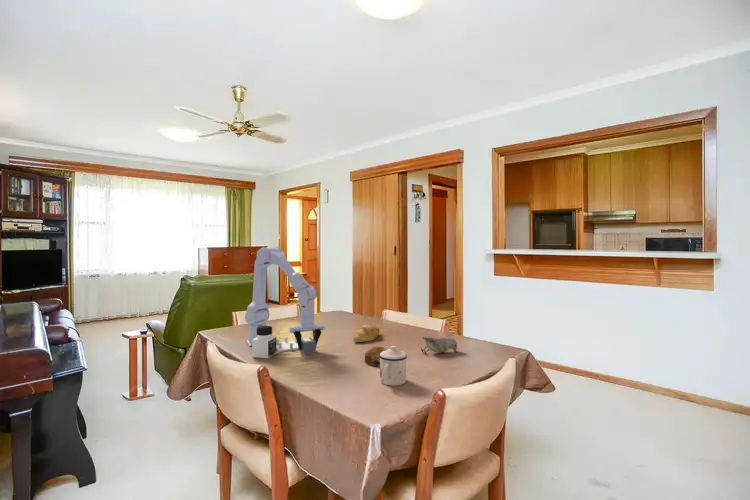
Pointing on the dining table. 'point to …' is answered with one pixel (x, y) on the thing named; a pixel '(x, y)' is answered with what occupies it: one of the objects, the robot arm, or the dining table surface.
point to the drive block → (308, 346)
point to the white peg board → (286, 345)
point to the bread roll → (374, 355)
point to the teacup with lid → (393, 367)
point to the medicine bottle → (264, 342)
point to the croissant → (366, 333)
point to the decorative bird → (439, 344)
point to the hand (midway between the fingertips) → (307, 348)
